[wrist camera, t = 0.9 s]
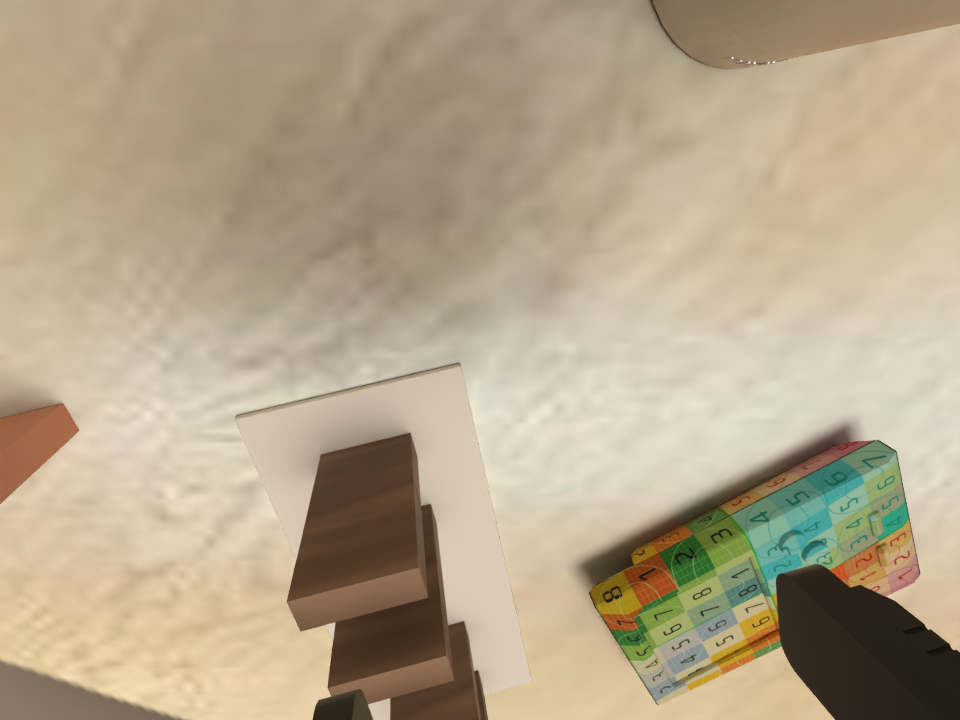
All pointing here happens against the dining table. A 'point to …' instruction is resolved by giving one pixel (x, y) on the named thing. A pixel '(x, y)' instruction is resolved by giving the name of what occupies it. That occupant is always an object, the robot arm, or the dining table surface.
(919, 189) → the dining table surface
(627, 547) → the dining table surface
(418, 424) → the mat
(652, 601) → the puzzle game
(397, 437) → the domino
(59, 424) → the domino
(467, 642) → the domino
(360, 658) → the domino
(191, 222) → the dining table surface
